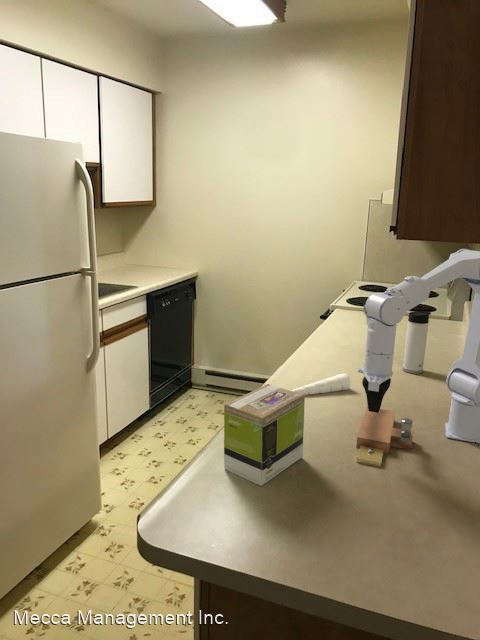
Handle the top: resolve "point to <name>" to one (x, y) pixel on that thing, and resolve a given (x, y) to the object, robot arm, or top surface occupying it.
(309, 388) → the unicorn horn
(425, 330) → the travel mug
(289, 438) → the tea box
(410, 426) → the lever
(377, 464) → the wooden block with bolt
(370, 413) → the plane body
